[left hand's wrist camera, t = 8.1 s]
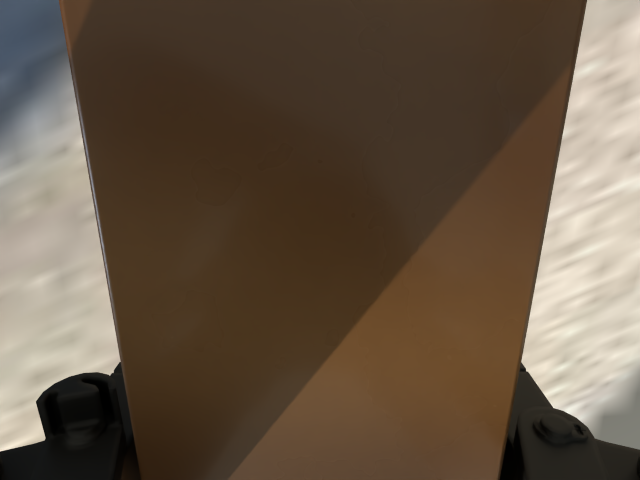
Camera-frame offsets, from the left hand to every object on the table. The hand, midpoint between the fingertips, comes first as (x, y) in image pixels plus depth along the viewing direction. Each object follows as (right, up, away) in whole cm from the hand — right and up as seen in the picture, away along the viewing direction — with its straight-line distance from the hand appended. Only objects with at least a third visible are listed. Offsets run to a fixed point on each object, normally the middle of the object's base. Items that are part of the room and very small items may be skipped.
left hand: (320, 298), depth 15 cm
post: (0, +27, -9) cm, 28 cm away
